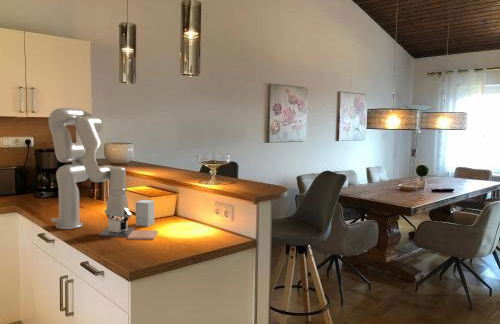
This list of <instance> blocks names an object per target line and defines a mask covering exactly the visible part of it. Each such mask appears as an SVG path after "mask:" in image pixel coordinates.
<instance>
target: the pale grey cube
mask: <svg viewBox="0 0 500 324" xmlns="http://www.w3.org/2000/svg"><path fill="white" fill-rule="evenodd" d="M128 220H129V219H128ZM128 220H127V221H126V229H125V230H128V227H129V226H128V222H129V221H128ZM121 222H122V221H121V218H120V217H116V216H115V217H114V218H112V219H109V220H108V219H107V227H108V231H112V232H117V233H119V232H122V231H125V230H121Z"/></svg>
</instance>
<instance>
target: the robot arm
mask: <svg viewBox="0 0 500 324" xmlns="http://www.w3.org/2000/svg"><path fill="white" fill-rule="evenodd" d="M48 126H49V130H50V133H51V137H52V142H53V148H54V154H55V156H56V159H57V161H58V162H60V163H70V164H64V165H62V166H60V167H58V168H57V170H56V173H55V175H56V178H55V179H56V182H57V187H58V217H57V218H56V217H54V218H53V217H52V218H51V219H50V221H51V223H54V224H55V223H56V224H55V228H56V229H60V230H72V229H78V228H82V227H83V225H84V223H83V222H81V221H80V189H79V187H78V185H77V183H80V182H85V181H87V180H88V179H89V180H90V181H91V182H92V183H93V182H94V183H101V182H107V181H109V189H108V192H109V194H108V196H107V200H106V201H107V202H106V210H104V213H105V215H106V216H107V221H108V220H109V219H112V218H116V217H120V218H121V221H122V222H121V230H125V229H126V221H127V220H129V219H130V218H131V216H132V213H131V212H130V210H129V202H128V196H127V191H126V190H127V170H126V168H125V167H123V166H113V165H108V164H107V165H98V162H97V160H96V159H97V158H96V153H97V151H98V150H100V148H101V147H102V145H103V143H102V140H101V137H100V136H99V133H101V132H102V131H103V128H104V125H103V122H102V120H101V119H100V118H99V117H98V116H96V115H94V114H92V113H89V112H88V111H87V110H83V109H81V108H75V107H74V108H70V107H59V108H55V109H53V110H52V111H51V113H50V114H49V117H48ZM67 126H75V130H76V132H77V134H78V136H79V139H80V141H81V143H79V142H73V140H72V134H71V133H70V130H69V128H67ZM71 163H72V164H71Z"/></svg>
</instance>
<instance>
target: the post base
mask: <svg viewBox="0 0 500 324" xmlns="http://www.w3.org/2000/svg"><path fill="white" fill-rule="evenodd" d="M132 231H136V227H131V226H130V227H129V226H128V230H125V231H122V232H119V233H117V232H112V231H108V226H107V227H105V229H103V230H102V231H101V232H100V233H99V234H98V237H99V238H100V237H101V238H104V237H105V238H127V237H128V236H129V235H130V233H131V232H132Z"/></svg>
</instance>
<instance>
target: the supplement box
mask: <svg viewBox="0 0 500 324" xmlns="http://www.w3.org/2000/svg"><path fill="white" fill-rule="evenodd" d="M154 224H155V200H153V199H152V200H150V199H149V200H148V199H141V200H139V201H136V202H135V226H139V227H150V226H153V225H154Z"/></svg>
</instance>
